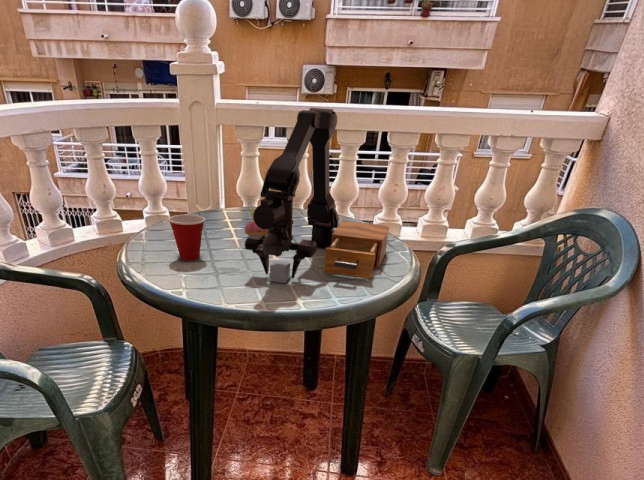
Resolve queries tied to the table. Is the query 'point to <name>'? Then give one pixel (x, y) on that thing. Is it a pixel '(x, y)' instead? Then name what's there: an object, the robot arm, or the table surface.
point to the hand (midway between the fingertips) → (280, 275)
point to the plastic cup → (187, 235)
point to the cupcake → (254, 228)
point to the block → (279, 271)
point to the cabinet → (364, 235)
